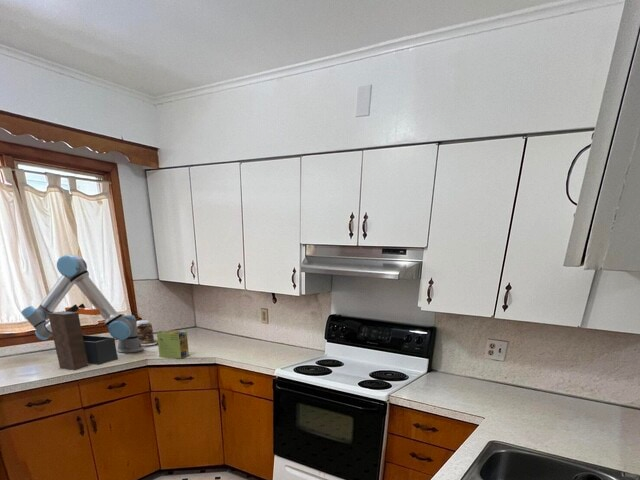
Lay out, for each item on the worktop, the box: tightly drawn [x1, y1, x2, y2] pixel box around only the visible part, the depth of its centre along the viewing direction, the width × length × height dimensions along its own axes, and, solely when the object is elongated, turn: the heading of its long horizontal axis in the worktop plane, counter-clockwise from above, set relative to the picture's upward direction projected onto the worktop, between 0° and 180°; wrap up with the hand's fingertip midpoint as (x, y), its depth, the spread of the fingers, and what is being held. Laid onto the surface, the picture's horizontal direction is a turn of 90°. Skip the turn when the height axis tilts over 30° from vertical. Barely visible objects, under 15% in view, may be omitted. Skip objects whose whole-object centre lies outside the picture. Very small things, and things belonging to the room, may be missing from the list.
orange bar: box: [64, 306, 101, 316], centre depth 247 cm, size 20×4×3 cm, turn 75°
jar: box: [136, 319, 155, 344], centre depth 308 cm, size 12×12×15 cm
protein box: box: [156, 329, 190, 359], centre depth 270 cm, size 10×15×16 cm
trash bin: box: [82, 334, 119, 366], centre depth 255 cm, size 24×16×13 cm, turn 75°
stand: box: [48, 310, 89, 371], centre depth 236 cm, size 10×10×30 cm
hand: (80, 306), depth 246 cm, fingers closed on orange bar, 4 cm apart
